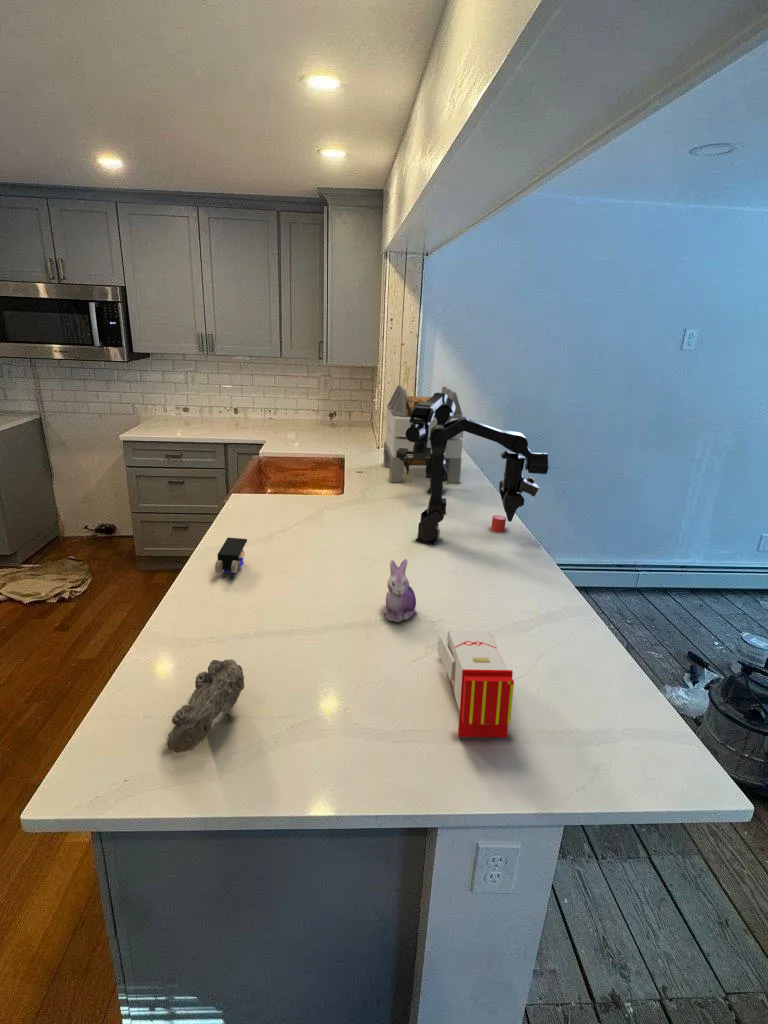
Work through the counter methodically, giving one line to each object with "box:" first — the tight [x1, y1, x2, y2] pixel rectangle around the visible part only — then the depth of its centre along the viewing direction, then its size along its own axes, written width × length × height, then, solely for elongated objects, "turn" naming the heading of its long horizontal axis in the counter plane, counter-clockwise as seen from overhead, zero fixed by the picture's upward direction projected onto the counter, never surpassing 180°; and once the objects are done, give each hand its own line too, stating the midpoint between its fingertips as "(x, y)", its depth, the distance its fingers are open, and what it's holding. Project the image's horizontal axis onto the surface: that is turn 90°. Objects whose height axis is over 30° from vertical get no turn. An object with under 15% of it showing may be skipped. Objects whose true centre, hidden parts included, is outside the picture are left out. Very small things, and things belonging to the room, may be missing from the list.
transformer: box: [383, 384, 465, 484], centre depth 268 cm, size 34×33×41 cm
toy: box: [437, 628, 515, 738], centre depth 117 cm, size 12×13×30 cm
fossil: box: [166, 658, 245, 754], centre depth 106 cm, size 22×10×15 cm
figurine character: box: [214, 537, 248, 578], centre depth 166 cm, size 7×8×15 cm
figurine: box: [384, 558, 417, 623], centre depth 145 cm, size 9×10×15 cm
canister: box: [490, 514, 507, 533], centre depth 207 cm, size 5×5×5 cm
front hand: (508, 516), depth 190 cm, fingers open, 9 cm apart
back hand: (419, 475), depth 225 cm, fingers open, 9 cm apart
